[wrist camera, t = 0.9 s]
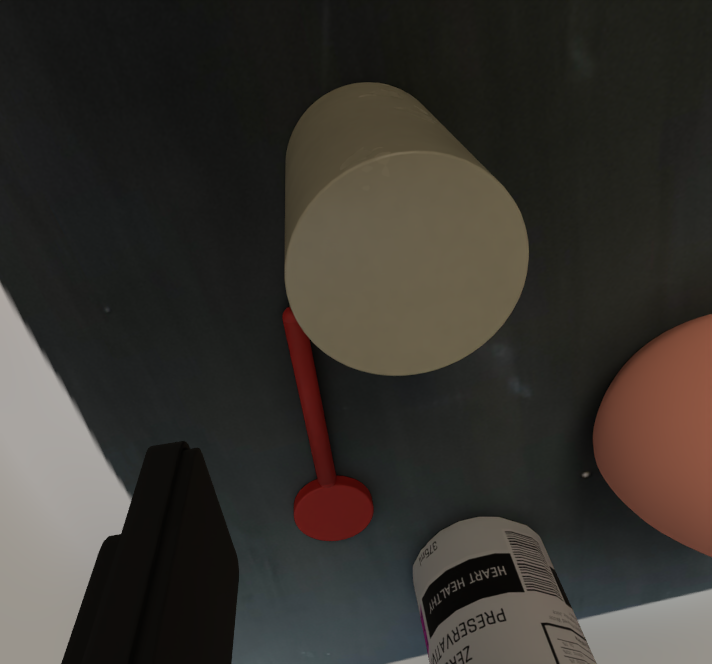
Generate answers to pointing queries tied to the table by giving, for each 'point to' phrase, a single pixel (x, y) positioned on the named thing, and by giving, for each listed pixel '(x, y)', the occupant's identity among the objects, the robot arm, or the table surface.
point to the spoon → (322, 458)
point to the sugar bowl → (663, 434)
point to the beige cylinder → (395, 235)
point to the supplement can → (494, 598)
